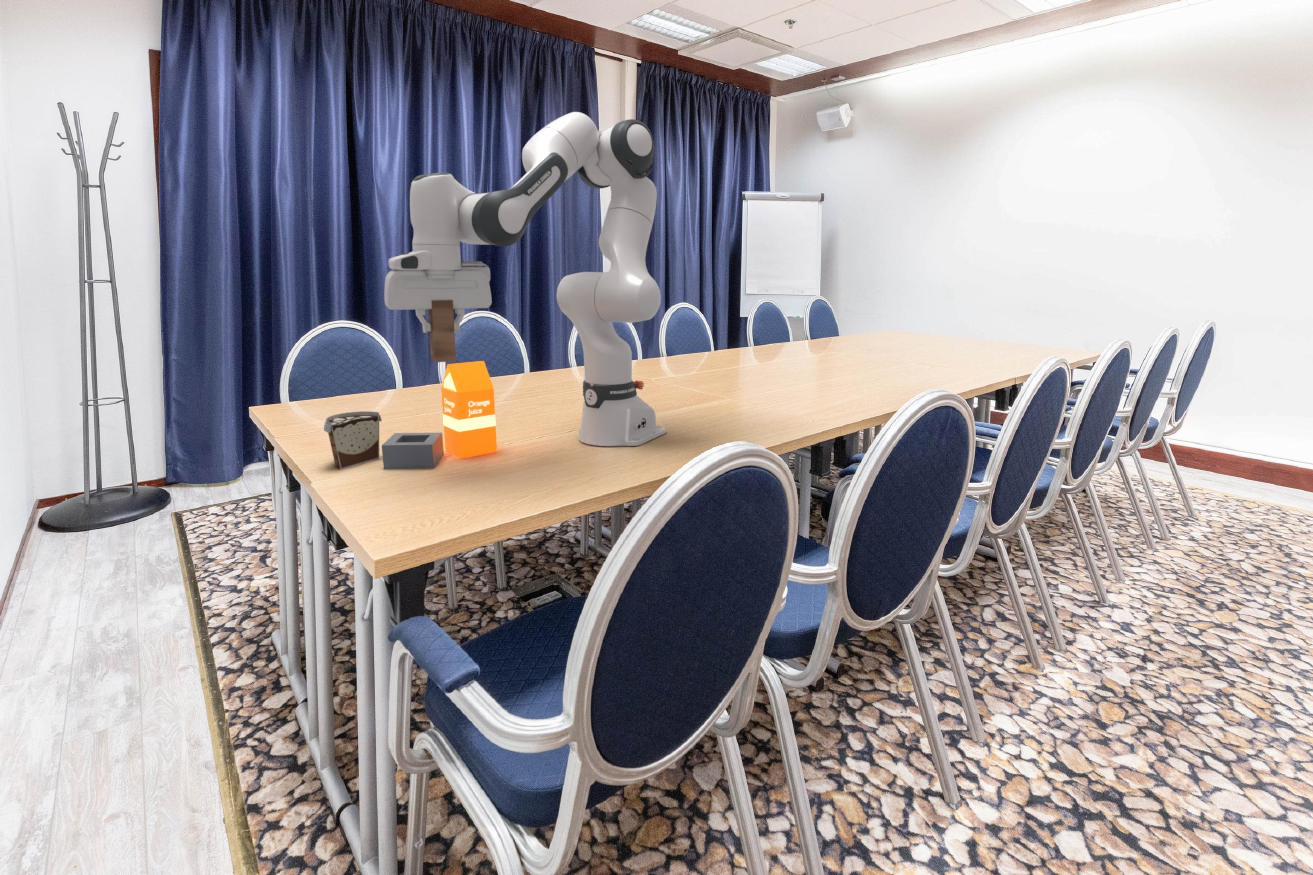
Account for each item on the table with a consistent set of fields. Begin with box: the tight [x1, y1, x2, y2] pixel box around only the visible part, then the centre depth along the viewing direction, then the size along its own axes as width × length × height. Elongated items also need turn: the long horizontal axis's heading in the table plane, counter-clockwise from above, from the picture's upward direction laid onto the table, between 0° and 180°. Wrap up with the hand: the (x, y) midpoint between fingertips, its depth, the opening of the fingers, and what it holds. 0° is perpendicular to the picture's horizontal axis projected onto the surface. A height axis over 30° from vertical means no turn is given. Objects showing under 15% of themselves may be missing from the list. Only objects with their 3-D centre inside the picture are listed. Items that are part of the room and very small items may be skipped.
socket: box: [381, 432, 445, 470], centre depth 146 cm, size 10×10×5 cm
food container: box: [323, 410, 383, 470], centre depth 145 cm, size 12×6×10 cm, turn 149°
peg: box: [427, 300, 457, 363], centre depth 138 cm, size 4×4×12 cm
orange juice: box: [440, 360, 498, 459], centre depth 152 cm, size 8×9×20 cm
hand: (441, 332), depth 138 cm, fingers closed on peg, 4 cm apart
